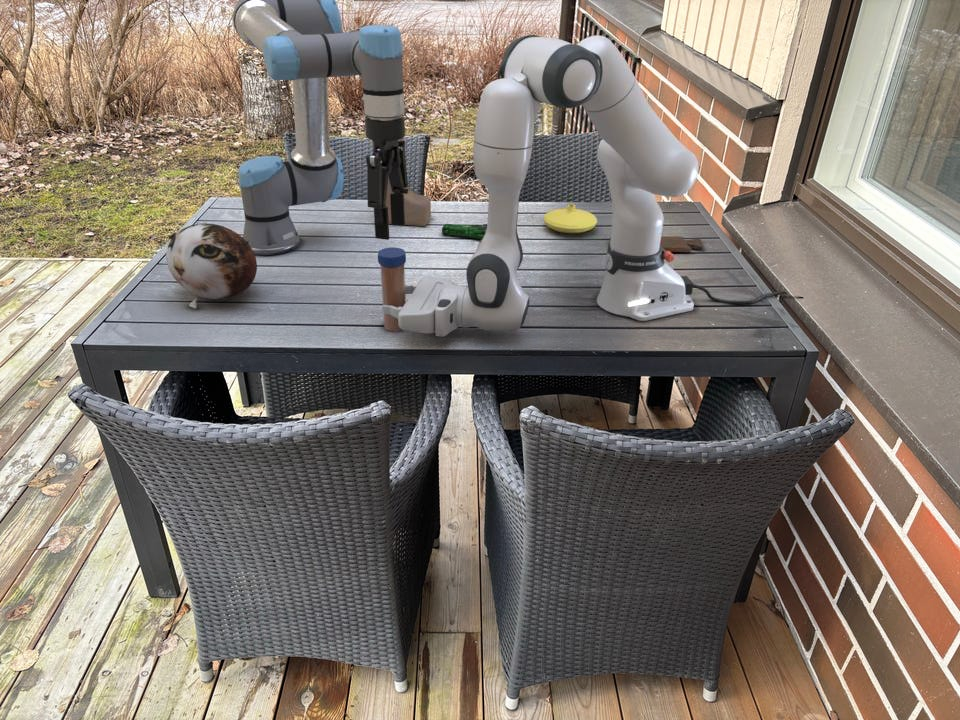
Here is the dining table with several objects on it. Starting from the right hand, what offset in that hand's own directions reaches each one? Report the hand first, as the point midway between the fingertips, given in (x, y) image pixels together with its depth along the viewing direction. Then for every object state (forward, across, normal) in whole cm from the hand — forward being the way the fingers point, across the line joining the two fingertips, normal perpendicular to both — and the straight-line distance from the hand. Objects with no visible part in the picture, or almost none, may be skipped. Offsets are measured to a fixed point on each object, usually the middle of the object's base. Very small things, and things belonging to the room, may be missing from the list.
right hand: (390, 298), depth 154 cm
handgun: (-6, -61, +6) cm, 61 cm away
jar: (-1, 0, +7) cm, 7 cm away
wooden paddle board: (-58, -62, +6) cm, 85 cm away
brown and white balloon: (+44, -5, +7) cm, 45 cm away
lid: (-1, 0, -10) cm, 10 cm away
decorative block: (+16, -64, +6) cm, 67 cm away
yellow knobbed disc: (-33, -70, +6) cm, 77 cm away
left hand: (-1, 0, -15) cm, 15 cm away
